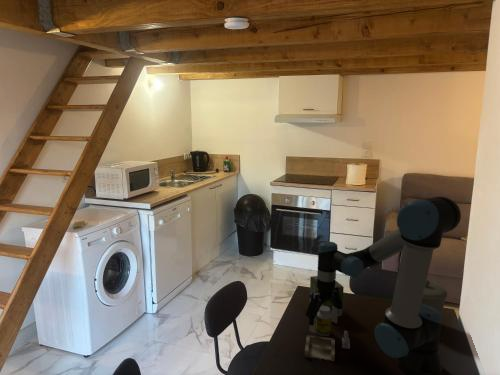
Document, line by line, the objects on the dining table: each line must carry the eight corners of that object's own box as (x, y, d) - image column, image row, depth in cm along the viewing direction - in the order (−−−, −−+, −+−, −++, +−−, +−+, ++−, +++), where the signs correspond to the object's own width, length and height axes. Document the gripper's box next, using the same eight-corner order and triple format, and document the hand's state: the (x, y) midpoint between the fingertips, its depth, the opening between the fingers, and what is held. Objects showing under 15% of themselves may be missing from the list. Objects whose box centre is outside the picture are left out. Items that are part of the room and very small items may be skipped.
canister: (402, 332, 160) (407, 285, 157) (396, 312, 178) (400, 269, 174) (448, 338, 156) (454, 290, 153) (438, 317, 173) (442, 274, 170)
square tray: (306, 340, 152) (306, 335, 152) (334, 344, 150) (334, 338, 149) (304, 356, 141) (304, 350, 141) (334, 361, 139) (334, 354, 139)
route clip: (349, 340, 153) (349, 331, 153) (349, 349, 147) (350, 339, 146) (341, 339, 154) (342, 330, 153) (342, 347, 148) (342, 338, 147)
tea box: (308, 304, 184) (309, 275, 181) (326, 301, 187) (328, 273, 184) (323, 319, 170) (325, 288, 167) (342, 316, 173) (344, 286, 170)
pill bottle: (313, 334, 157) (315, 309, 155) (318, 327, 163) (319, 303, 161) (328, 338, 154) (329, 313, 153) (332, 331, 160) (333, 307, 158)
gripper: (338, 269, 165) (335, 314, 168) (298, 283, 150) (296, 332, 153) (352, 275, 159) (349, 321, 163) (312, 289, 144) (309, 340, 148)
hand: (323, 326), depth 158 cm, fingers open, 13 cm apart
